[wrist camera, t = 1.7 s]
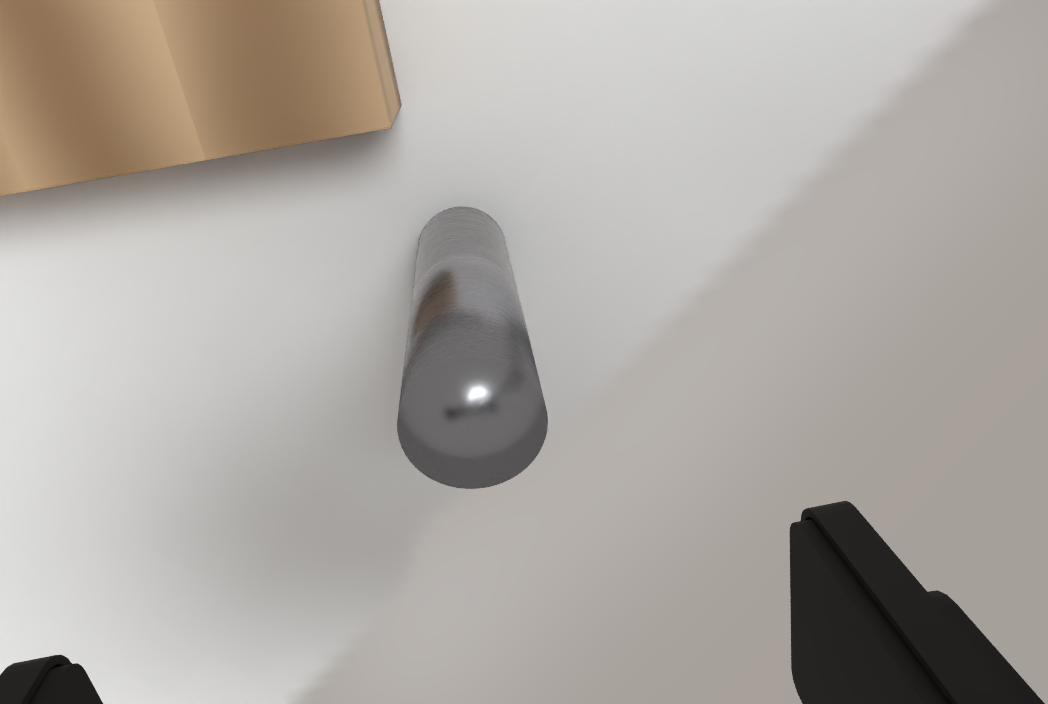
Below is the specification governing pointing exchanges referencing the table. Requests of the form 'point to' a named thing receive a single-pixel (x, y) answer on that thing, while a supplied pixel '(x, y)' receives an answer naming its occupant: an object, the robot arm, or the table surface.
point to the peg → (468, 359)
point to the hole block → (181, 82)
